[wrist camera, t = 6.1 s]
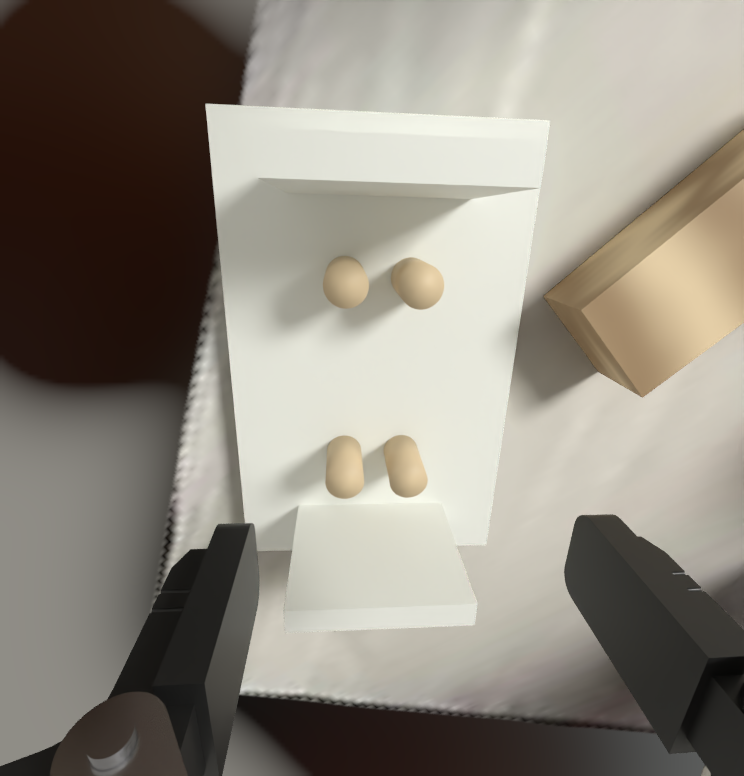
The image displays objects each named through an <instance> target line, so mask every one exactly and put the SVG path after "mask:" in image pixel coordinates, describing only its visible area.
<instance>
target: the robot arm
mask: <svg viewBox="0 0 744 776" xmlns="http://www.w3.org/2000/svg"><path fill="white" fill-rule="evenodd" d="M564 574H565V582H566V586H567V589H568V592H569V594H570V596H571V598H572V599H573V601H574V603H575V604H576V606H577V607H578V609H579V611H580V612H581V614H582V615H583V617H584V619H585V620H586V622H587V623H588V625H589V627H590V628H591V630H592V631H593V633H594V635H595V636H596V638H597V639H598V641H599V643H600V644H601V646H602V647H603V649H604V650H605V652H606V654H607V655H608V657H609V658H610V660H611V662H612V663H613V665H614V666H615V668H616V670H617V671H618V673H619V674H620V676H621V678H622V679H623V681H624V682H625V684H626V686H627V687H628V689H629V690H630V692H631V694H632V695H633V697H634V698H635V700H636V702H637V703H638V705H639V706H640V708H641V710H642V711H643V713H644V714H645V716H646V717H647V719H648V721H649V722H650V724H651V725H652V727H653V729H654V730H655V732H656V733H657V735H658V737H659V738H660V740H661V741H662V743H663V744H664V746H665V748H666V749H667V751H668V753H669V754H672V753H687V752H697V754H698V755H699V757H700V758H701V760H702V761H703V762H704V764H705V766H704V768H703V770H702V773H701V776H744V630H743V629H742V628H741V627H740V626H739V625H738V624H737V623H736V622H735V621H734V620H733V619H732V618H731V617H730V616H729V615H728V614H727V613H726V612H725V611H724V610H723V609H722V608H721V607H720V606H719V605H718V604H717V603H716V602H715V601H714V600H713V599H712V598H711V597H710V596H709V595H708V594H707V593H706V592H702V591H701V587H700V586H699V585H698V584H697V583H696V582H695V581H694V580H693V579H692V578H691V577H690V576H689V575H685V571H684V570H683V569H682V568H681V567H680V566H679V565H678V564H677V563H676V562H675V561H674V560H673V559H672V558H671V557H670V556H669V555H668V554H667V553H666V552H664V551H663V550H661V549H660V548H658V547H656V546H655V545H653V544H652V543H650V542H649V541H647V540H645V539H644V538H642V537H637V536H636V535H635V534H634V533H633V532H632V531H631V530H630V528H629V527H628V526H627V525H626V524H625V523H624V522H623V521H622V520H621V519H620V518H619V517H617V516H616V515H611V514H610V515H581V516H579V517H578V518H577V519H576V521H575V524H574V528H573V533H572V537H571V542H570V546H569V550H568V555H567V559H566V564H565V570H564ZM258 598H259V569H258V557H257V545H256V533H255V526H254V524H253V523H235V524H218V525H217V527H216V529H215V531H214V534H213V536H212V539H211V541H210V544H209V546H208V549H191V550H190V551H189V552H188V553H187V554H185V555H184V556H183V557H182V558H181V559H180V560H179V561H178V562H177V563H176V564H175V565H174V566H173V567H172V568H171V570H170V572H169V575H168V577H167V579H166V581H165V583H164V585H163V587H162V589H161V594H159V595H158V597H157V599H156V601H155V603H154V606H153V608H152V613H150V614H149V616H148V618H147V620H146V622H145V624H144V626H143V628H142V630H141V633H140V635H139V637H138V639H137V641H136V643H135V645H134V647H133V649H132V651H131V653H130V655H129V657H128V659H127V661H126V664H125V666H124V668H123V670H122V672H121V674H120V676H119V678H118V680H117V682H116V684H115V686H114V688H113V690H112V692H111V694H110V696H109V697H108V699H107V700H105V701H104V702H102V703H100V704H99V705H97V706H95V707H94V708H93V709H91V710H90V711H89V712H87V713H86V714H85V715H84V716H83V717H82V718H81V719H79V720H78V721H77V722H76V723H75V725H74V726H73V727H72V728H71V729H70V730H69V732H68V733H67V734H66V736H65V737H64V739H63V740H62V741H61V742H59V743H57V744H56V745H54V746H52V747H49V748H47V749H45V750H42V751H40V752H38V753H35V754H32V755H29V756H27V757H24V758H21V759H19V760H16V761H13V762H11V763H8V764H5V765H3V766H0V776H222V774H223V769H224V764H225V759H226V755H227V750H228V745H229V740H230V736H231V731H232V726H233V721H234V716H235V712H236V707H237V702H238V697H239V693H240V688H241V683H242V678H243V673H244V669H245V664H246V659H247V654H248V650H249V645H250V640H251V635H252V630H253V626H254V621H255V616H256V611H257V606H258Z"/></svg>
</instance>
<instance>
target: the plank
mask: <svg viewBox="0 0 744 776" xmlns="http://www.w3.org/2000/svg"><path fill="white" fill-rule="evenodd" d="M543 297H544V298H545V299H546V301H547V302H548V304H549V305H550V306H551V308H552V309H553V310H554V312H555V313H556V315H557V316H558V317H559V319H560V320H561V321H562V323H563V324H564V326H565V327H566V328H567V330H568V331H569V332H570V334H571V335H572V336H573V338H574V339H575V341H576V342H577V343H578V345H579V346H580V347H581V349H582V350H583V352H584V353H585V354H586V356H587V357H588V358H589V360H590V361H591V363H592V364H593V365H594V367H595V368H596V369H597V371H598V372H600V373H601V374H603V375H605V376H606V377H608V378H610V379H612V380H613V381H615V382H617V383H618V384H620V385H622V386H624V387H625V388H627V389H629V390H630V391H632V392H634V393H636V394H637V395H639V396H641V397H644V396H645V395H647V394H648V393H649V392H651V391H652V390H653V389H655V388H656V387H657V386H659V385H660V384H661V383H663V382H664V381H666V380H667V379H668V378H670V377H671V376H672V375H674V374H675V373H676V372H678V371H679V370H680V369H682V368H683V367H684V366H686V365H687V364H689V363H690V362H691V361H693V360H694V359H695V358H697V357H698V356H699V355H701V354H702V353H703V352H705V351H706V350H707V349H709V348H710V347H712V346H713V345H714V344H716V343H717V342H718V341H720V340H721V339H722V338H724V337H725V336H726V335H728V334H729V333H730V332H732V331H733V330H734V329H736V328H737V327H739V326H740V325H741V324H743V323H744V129H743V130H742V131H741V132H740V133H739V134H737V135H736V136H735V137H734V138H733V139H731V140H730V141H729V142H728V143H727V144H725V145H724V146H723V147H722V148H721V149H719V150H718V151H717V152H716V153H715V154H713V155H712V156H711V157H710V158H709V159H707V160H706V161H705V162H704V163H703V164H701V165H700V166H699V167H698V168H697V169H695V170H694V171H693V172H692V173H691V174H689V175H688V176H687V177H686V178H685V179H683V180H682V181H681V182H680V183H679V184H677V185H676V186H675V187H674V188H673V189H671V190H670V191H669V192H668V193H667V194H665V195H664V196H663V197H662V198H661V199H659V200H658V201H657V202H656V203H655V204H653V205H652V206H651V207H650V208H649V209H647V210H646V211H645V212H644V213H643V214H641V215H640V216H639V217H638V218H636V219H635V220H634V221H633V222H632V223H630V224H629V225H628V226H627V227H626V228H624V229H623V230H622V231H621V232H620V233H618V234H617V235H616V236H615V237H614V238H612V239H611V240H610V241H609V242H608V243H606V244H605V245H604V246H603V247H602V248H600V249H599V250H598V251H597V252H596V253H594V254H593V255H592V256H591V257H590V258H588V259H587V260H586V261H585V262H584V263H582V264H581V265H580V266H579V267H578V268H576V269H575V270H574V271H573V272H572V273H570V274H569V275H568V276H567V277H566V278H564V279H563V280H562V281H561V282H560V283H558V284H557V285H556V286H555V287H554V288H552V289H551V290H550V291H549V292H548V293H546V294H545V295H544V296H543Z"/></svg>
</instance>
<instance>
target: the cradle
mask: <svg viewBox="0 0 744 776" xmlns="http://www.w3.org/2000/svg"><path fill="white" fill-rule="evenodd" d="M206 114H207V126H208V136H209V147H210V158H211V168H212V178H213V189H214V200H215V210H216V221H217V232H218V242H219V253H220V264H221V274H222V285H223V295H224V306H225V317H226V327H227V338H228V349H229V359H230V370H231V380H232V391H233V402H234V412H235V423H236V433H237V444H238V455H239V465H240V476H241V486H242V497H243V508H244V518H245V523H253V524H254V526H255V533H256V545H257V551H288V550H292V555H291V562H290V569H289V576H288V583H287V590H286V597H285V604H284V628H285V633H299V632H323V631H347V630H371V629H396V628H420V627H444V626H468V625H475V619H476V612H477V605H478V603H477V601H476V598H475V595H474V592H473V590H472V587H471V584H470V581H469V578H468V576H467V573H466V570H465V567H464V565H463V562H462V559H461V556H460V554H459V551H458V548H457V546H471V545H486V543H487V536H488V530H489V523H490V517H491V510H492V503H493V497H494V490H495V483H496V477H497V470H498V464H499V457H500V450H501V444H502V437H503V431H504V424H505V417H506V411H507V404H508V397H509V391H510V384H511V378H512V371H513V364H514V358H515V351H516V344H517V338H518V331H519V325H520V318H521V311H522V305H523V298H524V291H525V285H526V278H527V272H528V265H529V258H530V252H531V245H532V239H533V232H534V225H535V219H536V212H537V205H538V199H539V192H540V188H541V183H542V176H543V170H544V163H545V156H546V150H547V143H548V140H547V139H548V133H549V126H550V120H531V119H511V118H490V117H469V116H448V115H428V114H407V113H386V112H365V111H344V110H324V109H303V108H282V107H261V106H241V105H219V104H206Z"/></svg>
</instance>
